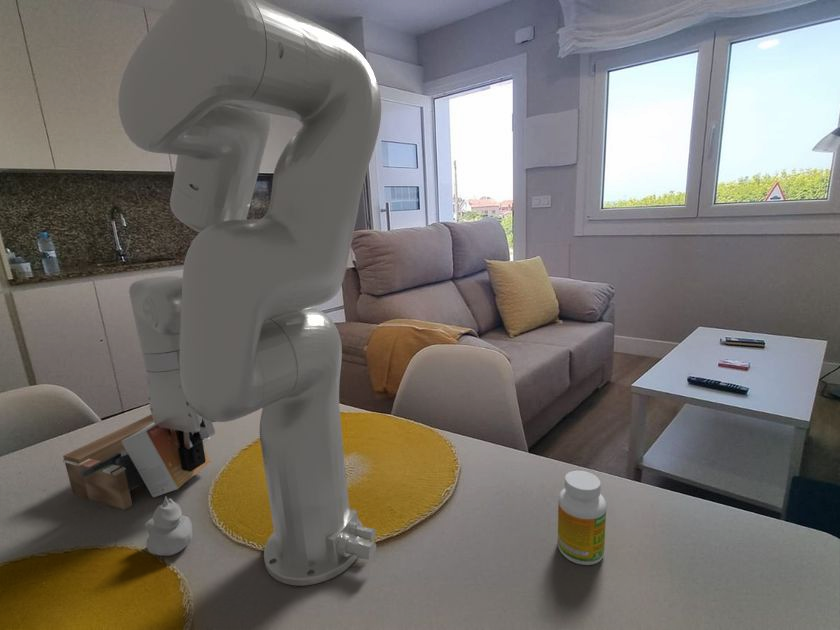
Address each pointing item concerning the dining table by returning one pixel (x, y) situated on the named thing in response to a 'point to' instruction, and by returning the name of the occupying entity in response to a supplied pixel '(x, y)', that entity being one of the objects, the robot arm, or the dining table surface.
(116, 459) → the pad
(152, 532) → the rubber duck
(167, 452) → the small box
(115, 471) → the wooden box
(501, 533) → the dining table surface
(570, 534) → the supplement bottle
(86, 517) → the dining table surface
